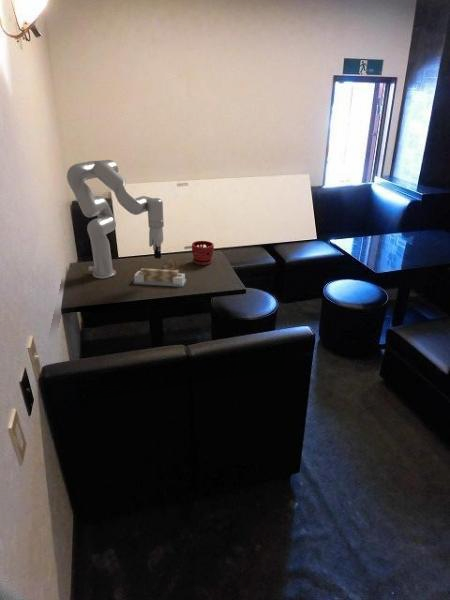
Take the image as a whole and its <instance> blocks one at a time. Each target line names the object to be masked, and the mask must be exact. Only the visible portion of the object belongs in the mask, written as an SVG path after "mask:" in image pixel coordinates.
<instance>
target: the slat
mask: <svg viewBox="0 0 450 600" xmlns="http://www.w3.org/2000/svg"><path fill="white" fill-rule="evenodd" d="M140 271H141V275H144V279H145V281H162V282H173V277H179V274H178V270H164V269H162V268H145V267H144V268H143V267H142V268H140Z"/></svg>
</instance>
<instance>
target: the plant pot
mask: <svg viewBox="0 0 450 600" xmlns="http://www.w3.org/2000/svg"><path fill="white" fill-rule="evenodd" d="M204 246H205V247H204ZM214 247H215V245H214V243H213V242H211V241H209V240H197V241H194V242H192V243H191V253H192V256H193V257H192V258H193V259H192V261H193V263H194V264H196V265H201V266H202V265H209V264H211V263H212V260H213V259H212V257H213V255H214Z"/></svg>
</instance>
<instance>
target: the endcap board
mask: <svg viewBox="0 0 450 600" xmlns="http://www.w3.org/2000/svg"><path fill="white" fill-rule="evenodd" d="M178 274H179V277H173V282H162V281H145V279H144V275H141V270H138V271H136V273H135V274H134V277H133V278H134V280H133V284H134V285H149V286H150V285H151V286H167V287H184V285H185V284H186V283H187V279H186V274H185V273H181V272H179V273H178Z"/></svg>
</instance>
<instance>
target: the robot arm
mask: <svg viewBox="0 0 450 600" xmlns="http://www.w3.org/2000/svg"><path fill="white" fill-rule="evenodd" d="M96 178H97V179H98V180H99V181H101V182H102V183H103V184H104V185H105V186H106V187H107V188H109V190H111V191H112V192H113V193H114V196H115V198H116V200H117V202H118V203H119V205H120V206H121V207H123V209H125V211H127V212H128V213H130V214H132V215H134V216H138V215H140V214H143V213H146V212H147V219H148V221H147V222H148V228H149V231H148V234H149V235H148V245H149V248H150V247H152V250H153V256H154V257H153V258H154V259H160V260H161V258H162V244H163V242H164V230H163V228H164V206H163V205H164V204H163V203H164V202H163V199H162V198H158V197H150V196H146V195H143V196H142V195H141V196H139V197H136V198H134V197H133V196H132V195H131V194H129V193H128V191H127V190H126V183H127V181H126V179H125V178H124V177H123V176H122V175H121V174H120V173H119V167H118V165H117V163H116V162H115V161H113V160H111V159H105V160H92V161H86V162H85V161H84V162H79V163H78V162H77V163H75V164H73V165H71V166H70V167H69V168H68V169H67V172H66V180H67V182H68V185H69V187H70V189H71V190H72V192H73V194H74V196H75V199H76V200H77V203H78V205H79V207H80V210H81V213H82V214H83V216H85V217H87V218H94V217H96V216H97V218H94V219H92V220H91V221H89V222H88V224H87V226H86V227H87V228H86V230H87V234H88V237H89V239H90V245H91V251H92V258H93V266H88V271H89V272H92V277H93V278H95V279H109V278H111V277H114V276H116V274H117V271H116V270H115V269H114V268H113V261H112V253H111V245H110V241H109V238H108V236H107V234H109V233H111V232H114V231H115V229H116V226H117V222H116V220H115V219H116V218H115V216H114V215H113V211H112V209H111V207H110V205H109V203H108V201H107V200H106V198H105V197H103V196H100V195H96V196H95V195H94V194H93V193H92V190H91V188H90V186H88V184H87V183H86V182H85V181H87V180H92V179H96Z"/></svg>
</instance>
